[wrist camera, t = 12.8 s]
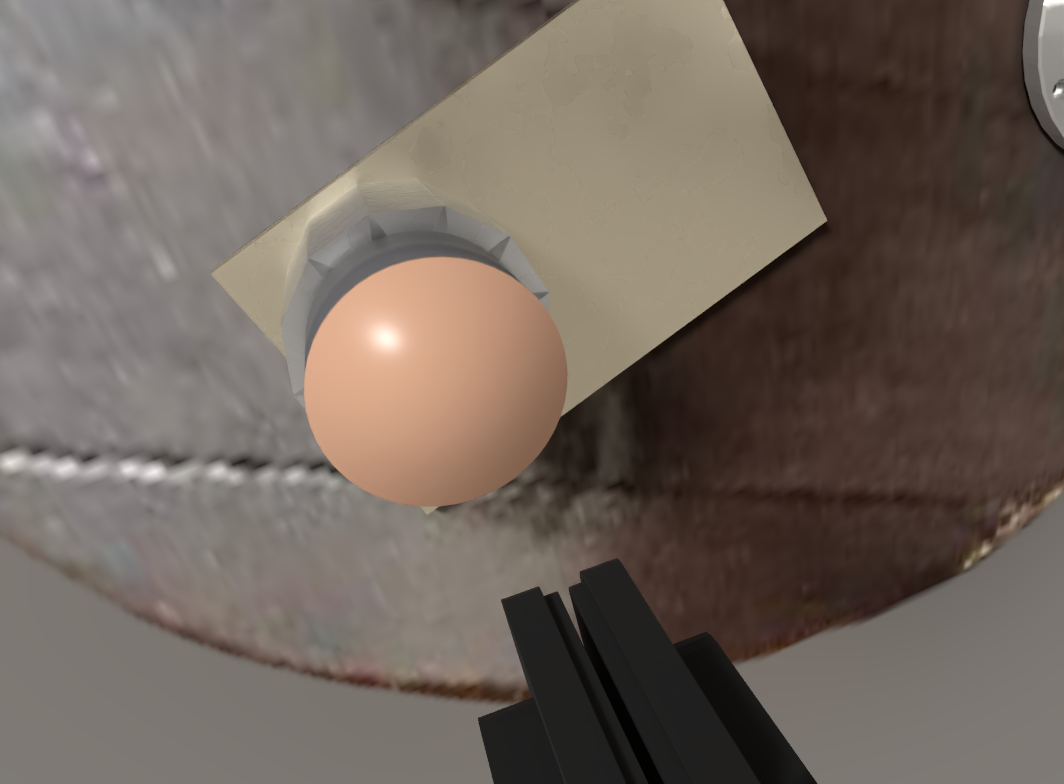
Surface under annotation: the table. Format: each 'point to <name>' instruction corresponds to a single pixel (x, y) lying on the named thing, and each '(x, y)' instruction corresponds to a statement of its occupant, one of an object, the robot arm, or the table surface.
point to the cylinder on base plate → (569, 185)
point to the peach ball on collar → (430, 370)
